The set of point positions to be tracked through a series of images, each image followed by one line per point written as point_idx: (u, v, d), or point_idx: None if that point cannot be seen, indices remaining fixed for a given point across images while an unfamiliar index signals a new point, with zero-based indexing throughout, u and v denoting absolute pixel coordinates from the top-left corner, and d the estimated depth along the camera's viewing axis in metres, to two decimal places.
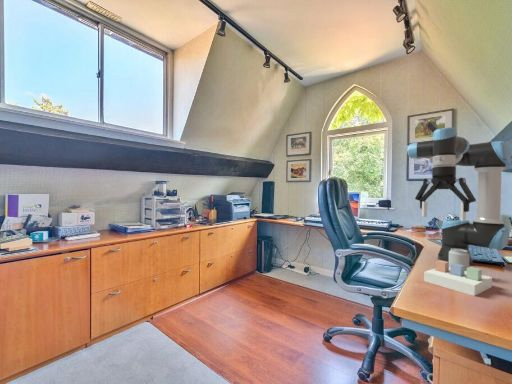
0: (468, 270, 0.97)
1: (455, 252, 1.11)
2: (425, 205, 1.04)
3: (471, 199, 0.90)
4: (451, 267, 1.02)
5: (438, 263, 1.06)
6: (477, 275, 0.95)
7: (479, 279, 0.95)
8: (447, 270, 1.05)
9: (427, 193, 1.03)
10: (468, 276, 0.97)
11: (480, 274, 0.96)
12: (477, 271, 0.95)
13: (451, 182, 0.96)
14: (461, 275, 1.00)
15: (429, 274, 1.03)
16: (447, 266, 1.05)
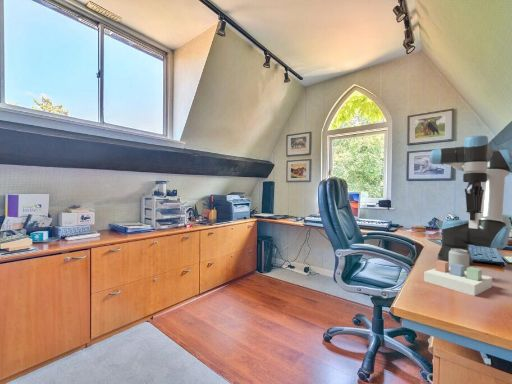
0: (468, 270, 0.97)
1: (455, 252, 1.11)
2: None
3: (467, 209, 1.02)
4: (451, 267, 1.02)
5: (438, 263, 1.06)
6: (477, 275, 0.95)
7: (479, 279, 0.95)
8: (447, 270, 1.05)
9: None
10: (468, 276, 0.97)
11: (480, 274, 0.96)
12: (477, 271, 0.95)
13: None
14: (461, 275, 1.00)
15: (429, 274, 1.03)
16: (447, 266, 1.05)
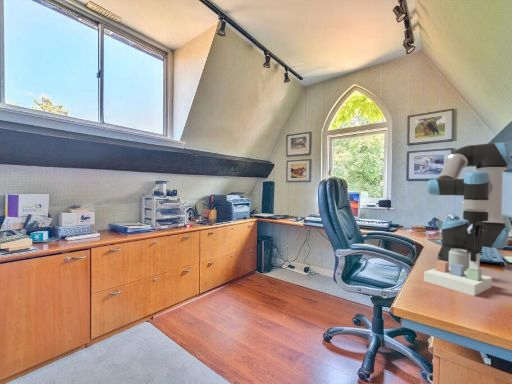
0: (468, 271, 0.97)
1: (455, 252, 1.11)
2: None
3: (467, 249, 0.96)
4: (451, 267, 1.02)
5: (438, 263, 1.06)
6: (477, 276, 0.95)
7: (479, 280, 0.95)
8: (447, 270, 1.05)
9: None
10: (468, 277, 0.97)
11: (480, 275, 0.96)
12: (477, 272, 0.95)
13: None
14: (461, 275, 1.00)
15: (429, 274, 1.03)
16: (447, 266, 1.05)
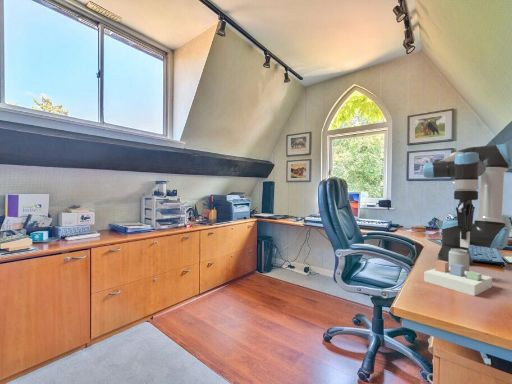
0: (468, 274, 0.97)
1: (455, 252, 1.11)
2: None
3: (458, 228, 0.99)
4: (451, 267, 1.02)
5: (438, 263, 1.06)
6: (477, 279, 0.95)
7: None
8: (447, 270, 1.05)
9: None
10: None
11: (479, 278, 0.96)
12: (477, 275, 0.95)
13: None
14: (461, 275, 1.00)
15: (429, 274, 1.03)
16: (447, 266, 1.05)
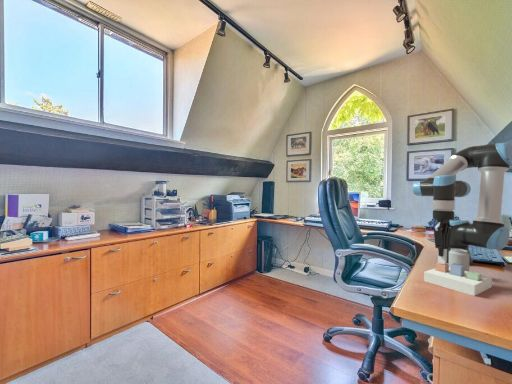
0: (468, 274, 0.97)
1: (455, 252, 1.11)
2: None
3: None
4: (451, 267, 1.02)
5: (438, 265, 1.06)
6: (477, 279, 0.95)
7: None
8: None
9: None
10: None
11: (479, 278, 0.96)
12: (477, 275, 0.95)
13: None
14: (461, 275, 1.00)
15: (429, 274, 1.03)
16: (447, 268, 1.05)
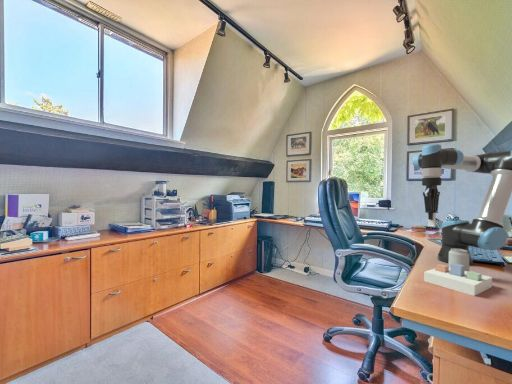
0: (468, 274, 0.97)
1: (455, 252, 1.11)
2: None
3: None
4: (451, 267, 1.02)
5: (438, 267, 1.06)
6: (477, 279, 0.95)
7: None
8: None
9: None
10: None
11: (479, 278, 0.96)
12: (477, 275, 0.95)
13: None
14: (461, 275, 1.00)
15: (429, 274, 1.03)
16: (447, 270, 1.05)
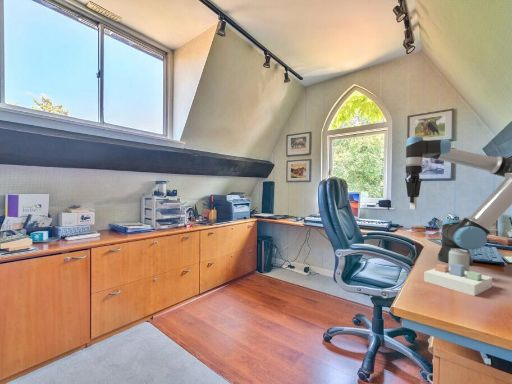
0: (468, 274, 0.97)
1: (455, 252, 1.11)
2: None
3: None
4: (451, 267, 1.02)
5: (438, 267, 1.06)
6: (477, 279, 0.95)
7: None
8: None
9: None
10: None
11: (479, 278, 0.96)
12: (477, 275, 0.95)
13: None
14: (461, 275, 1.00)
15: (429, 274, 1.03)
16: (447, 270, 1.05)
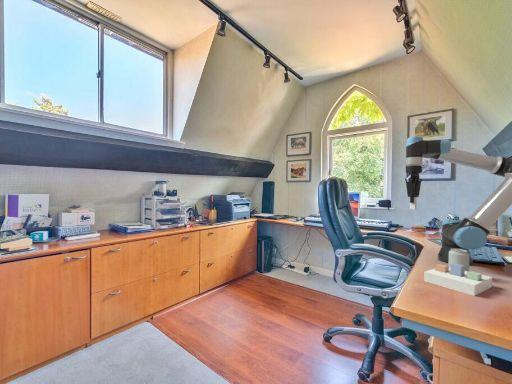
0: (468, 274, 0.97)
1: (455, 252, 1.11)
2: None
3: None
4: (451, 267, 1.02)
5: (438, 267, 1.06)
6: (477, 279, 0.95)
7: None
8: None
9: None
10: None
11: (479, 278, 0.96)
12: (477, 275, 0.95)
13: None
14: (461, 275, 1.00)
15: (429, 274, 1.03)
16: (447, 270, 1.05)
